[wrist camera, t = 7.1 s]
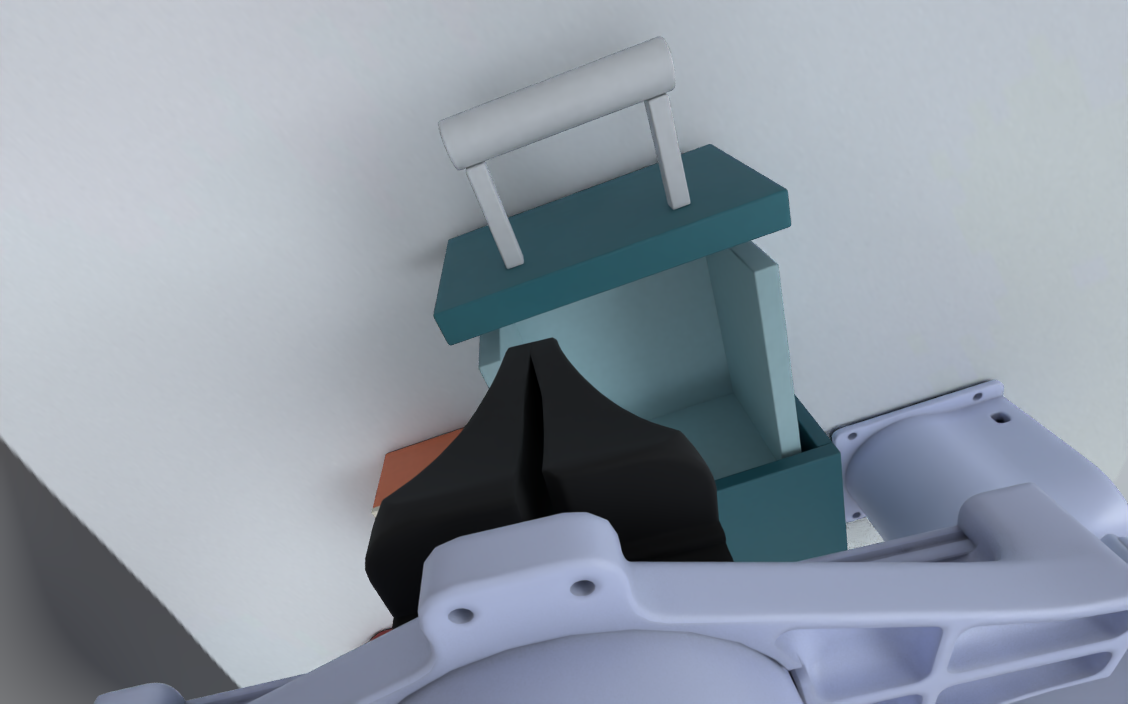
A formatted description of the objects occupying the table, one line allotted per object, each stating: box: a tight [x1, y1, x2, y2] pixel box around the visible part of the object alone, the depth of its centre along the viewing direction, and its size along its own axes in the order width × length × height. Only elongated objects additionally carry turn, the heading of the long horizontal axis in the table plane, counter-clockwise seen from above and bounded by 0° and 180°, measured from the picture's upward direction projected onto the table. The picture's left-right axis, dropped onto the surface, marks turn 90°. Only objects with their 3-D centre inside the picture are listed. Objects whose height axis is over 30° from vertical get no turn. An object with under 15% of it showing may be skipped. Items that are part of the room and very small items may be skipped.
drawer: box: [433, 36, 801, 480], centre depth 21 cm, size 17×11×7 cm, turn 18°
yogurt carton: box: [371, 428, 464, 518], centre depth 28 cm, size 5×4×4 cm
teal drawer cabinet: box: [715, 394, 847, 562], centre depth 28 cm, size 13×12×8 cm
